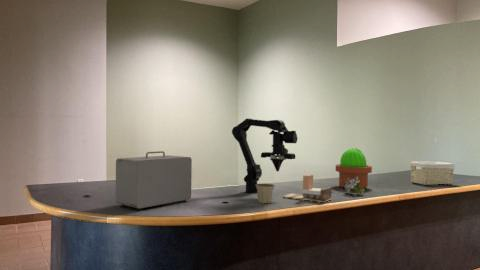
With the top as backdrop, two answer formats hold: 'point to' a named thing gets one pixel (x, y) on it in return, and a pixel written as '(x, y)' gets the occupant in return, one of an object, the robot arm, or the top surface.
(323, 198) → the tan cardboard slab
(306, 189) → the brown piece
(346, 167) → the potted cactus
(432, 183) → the storage basket
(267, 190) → the flower pot
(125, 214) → the top surface
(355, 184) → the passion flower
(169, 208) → the top surface
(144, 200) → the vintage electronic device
